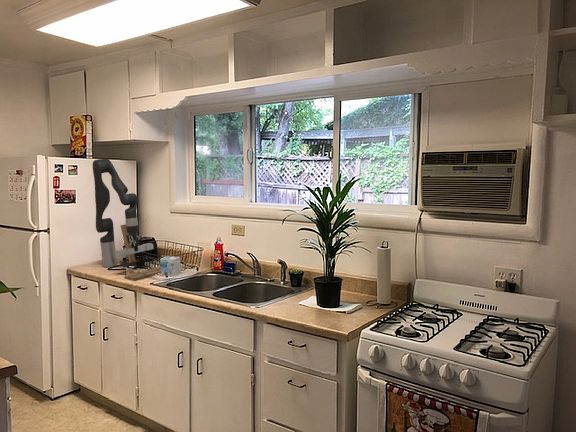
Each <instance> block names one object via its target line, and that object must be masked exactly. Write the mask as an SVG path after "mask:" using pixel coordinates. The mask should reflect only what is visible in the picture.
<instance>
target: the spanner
mask: <svg viewBox="0 0 576 432" xmlns="http://www.w3.org/2000/svg"><path fill="white" fill-rule="evenodd" d="M154 249H155V248H154V243H151V242H148V243H143V244H141V245H140V244H139V245H138V251H135V249H134V247H131V248H127V249H126V248H124V249H118V250H116V251H115V256H116V257H117V258H124V257H128V255H130V254H134V255H135V254H139V253H141V252H145V251H151V250H154Z"/></svg>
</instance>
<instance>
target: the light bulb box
mask: <svg viewBox="0 0 576 432" xmlns="http://www.w3.org/2000/svg"><path fill="white" fill-rule="evenodd" d="M159 263H160V265H159V266H161V274H160V275H161V276H165V277H167V276H169V277H177V276H179V275H181V274H182V268H181V257H180V256H164V257H162V258H160V259H159Z"/></svg>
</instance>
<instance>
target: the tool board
mask: <svg viewBox="0 0 576 432" xmlns="http://www.w3.org/2000/svg"><path fill="white" fill-rule="evenodd" d="M140 268H141V267H139V268H136V272H133V273H131V274H130V273H129V274H127V275H124V279H125V280H129V281H134V282H137V281H138V282H139V281H141V280H144V279H147V278H150V277H154V276H156V275H155V274H158V273H161V265H156V267H154V264H150V268H148V269H142V271H141V270H140ZM158 275H159V274H158Z"/></svg>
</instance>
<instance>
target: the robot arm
mask: <svg viewBox="0 0 576 432" xmlns="http://www.w3.org/2000/svg"><path fill="white" fill-rule="evenodd" d="M92 172H93V173H92V174H93V182H94V198H95V199H94V200H95V230H96V232H97V233H99V234H100V233H101V234H102V233H106V234H105V235H103V236H102V237H100V238H99V242H100V251H101V253H100V254H101V260H102V266H103V267H104V268H111V267H116V266H118V259H117V258H118V257H116V256H115V251H117V250H116V243H115V242H116V241H115V232H114V231H115V230H114V227H115V226H114V222H113V219H112V218H111V217H106V218H103V216H104V213H105V211H106V209H107V207H108V206H109V204H110V202H111V195H110V194H111V192H110V190H109V188H108V186H107V185H106V184H105V182H104V181H103V175H102V174H105V173H108V174H109V175H110V176H111V186H112V188H113V190H114V191H115V192H116V193H117V196H118V199H119V201H120V203H121V204H122V205H123V206H128V208H126V209H125V210H124V218H125V224H126V231H127V233H128V235H126V238H127V240H128V243H129V244H130V245H131V247H134V249H135V251H138V246H140V244H141V238H142V237H141V236H140V235H139V233H138V232H139V230H140V228H139V221H138V220H139V219H138V214H137V208H138V204H139V203H138V202H139V198H138V196H137V194H136V193H133V192H132V193H128V192H129V189H128V187H127V185H126V184H125V183H124V182H123V180H122V179H121V177H120V176H119V174H118V172H117V170H116V168H115V166H114V164H113V163H112V161H111V160H110V159H109V158H106V157H105V158H98V159H95V160H93V161H92Z"/></svg>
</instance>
